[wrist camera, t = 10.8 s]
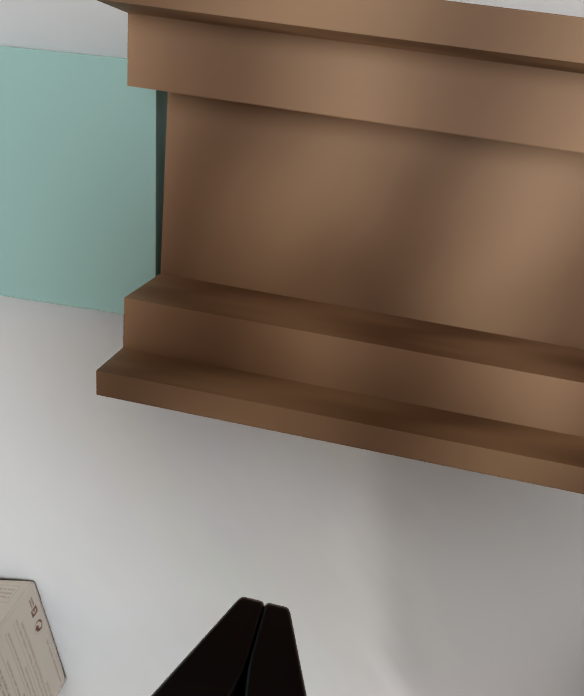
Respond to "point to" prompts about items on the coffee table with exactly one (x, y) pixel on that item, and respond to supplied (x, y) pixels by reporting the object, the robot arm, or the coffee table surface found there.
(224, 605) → the coffee table surface
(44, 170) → the cover plate
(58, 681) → the supplement box
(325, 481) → the coffee table surface
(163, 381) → the brown wooden box
